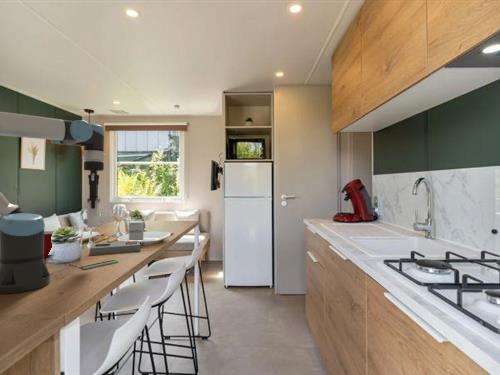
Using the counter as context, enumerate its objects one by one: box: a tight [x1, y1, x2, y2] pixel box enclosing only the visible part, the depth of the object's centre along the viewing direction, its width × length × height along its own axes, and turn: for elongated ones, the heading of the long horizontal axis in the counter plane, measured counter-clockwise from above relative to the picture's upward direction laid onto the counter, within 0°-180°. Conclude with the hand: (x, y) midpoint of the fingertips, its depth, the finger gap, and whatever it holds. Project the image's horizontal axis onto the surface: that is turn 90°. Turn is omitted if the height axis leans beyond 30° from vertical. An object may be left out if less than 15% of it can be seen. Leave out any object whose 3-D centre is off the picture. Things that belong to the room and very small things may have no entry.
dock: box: [89, 240, 141, 256], centre depth 147 cm, size 22×12×4 cm, turn 114°
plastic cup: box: [44, 230, 55, 260], centre depth 136 cm, size 11×11×12 cm
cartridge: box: [86, 197, 101, 228], centre depth 126 cm, size 5×5×12 cm
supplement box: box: [128, 220, 145, 241], centre depth 169 cm, size 7×7×13 cm
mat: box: [69, 259, 119, 271], centre depth 126 cm, size 14×14×1 cm
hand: (93, 215), depth 126 cm, fingers closed on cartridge, 5 cm apart
